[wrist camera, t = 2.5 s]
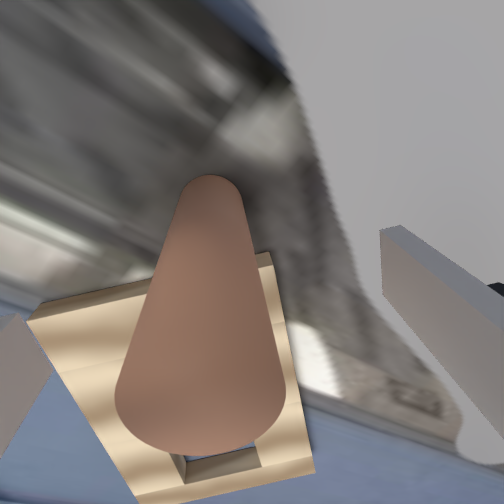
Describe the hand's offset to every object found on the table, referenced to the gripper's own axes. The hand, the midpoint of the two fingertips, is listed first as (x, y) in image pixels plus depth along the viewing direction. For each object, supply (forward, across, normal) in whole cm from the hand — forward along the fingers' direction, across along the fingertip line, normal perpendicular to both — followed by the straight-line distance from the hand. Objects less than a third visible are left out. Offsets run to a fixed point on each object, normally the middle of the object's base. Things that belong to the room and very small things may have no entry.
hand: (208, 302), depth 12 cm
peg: (+10, 0, 0) cm, 10 cm away
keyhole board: (+10, -5, -14) cm, 19 cm away
